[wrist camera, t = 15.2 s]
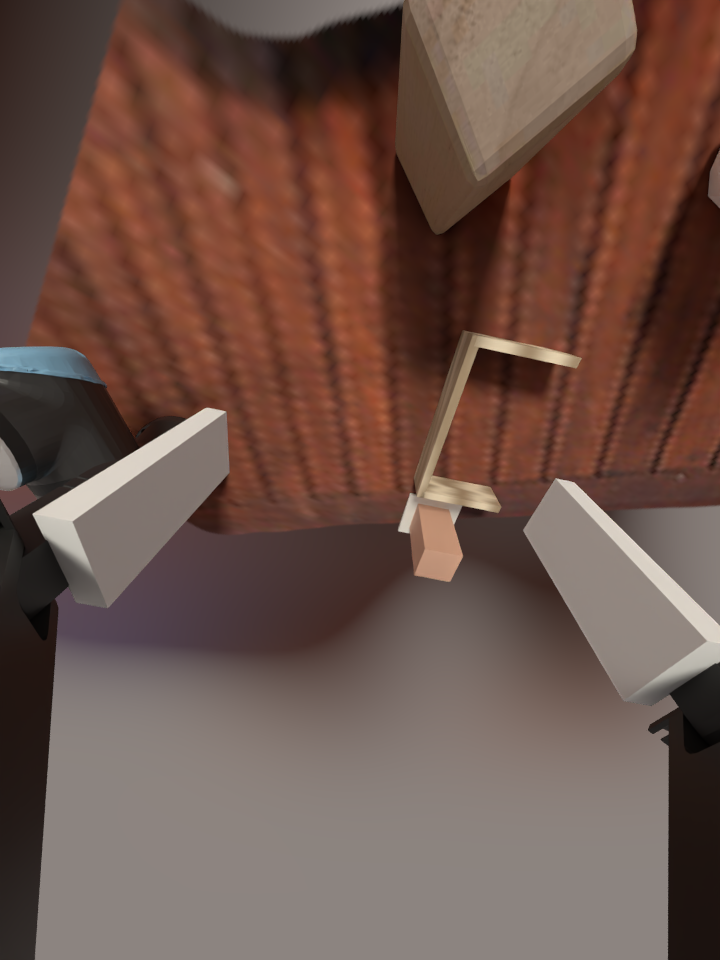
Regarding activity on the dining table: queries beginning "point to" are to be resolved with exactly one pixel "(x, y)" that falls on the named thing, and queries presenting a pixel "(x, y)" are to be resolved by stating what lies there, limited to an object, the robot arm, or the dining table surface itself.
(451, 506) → the white tile
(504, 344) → the frame
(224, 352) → the dining table surface
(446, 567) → the terracotta block
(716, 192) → the vase
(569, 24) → the wooden block
